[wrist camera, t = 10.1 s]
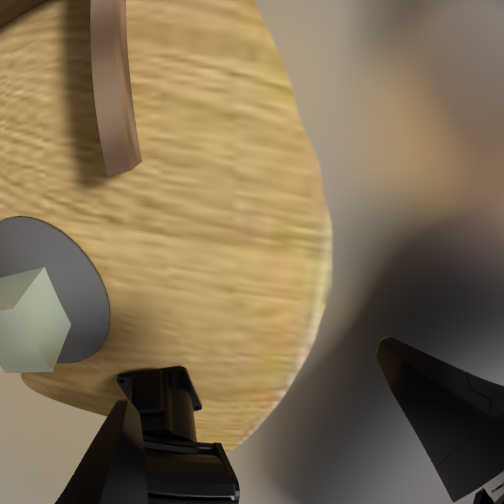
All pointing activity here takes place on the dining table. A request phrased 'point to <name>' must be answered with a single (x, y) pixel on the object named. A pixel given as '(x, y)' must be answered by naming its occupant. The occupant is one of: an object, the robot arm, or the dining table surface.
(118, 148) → the bay
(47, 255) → the coaster
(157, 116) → the dining table surface
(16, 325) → the block
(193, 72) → the dining table surface
